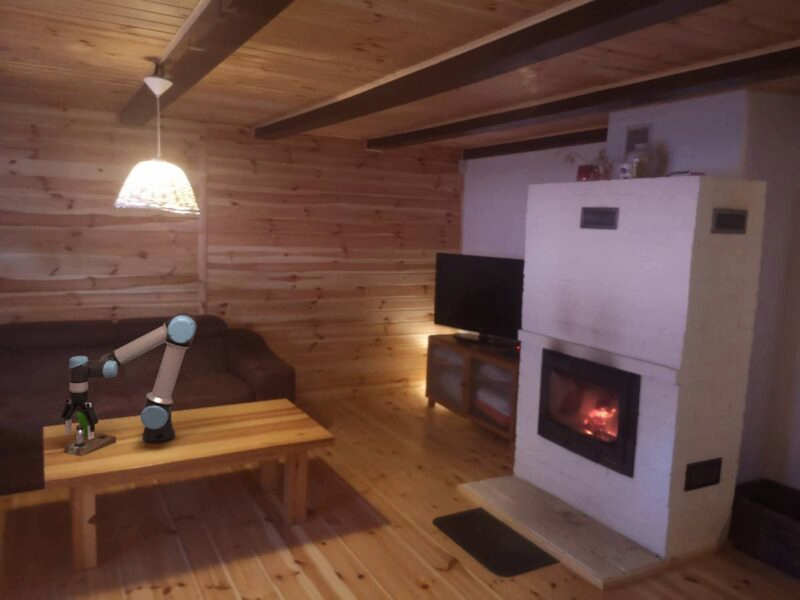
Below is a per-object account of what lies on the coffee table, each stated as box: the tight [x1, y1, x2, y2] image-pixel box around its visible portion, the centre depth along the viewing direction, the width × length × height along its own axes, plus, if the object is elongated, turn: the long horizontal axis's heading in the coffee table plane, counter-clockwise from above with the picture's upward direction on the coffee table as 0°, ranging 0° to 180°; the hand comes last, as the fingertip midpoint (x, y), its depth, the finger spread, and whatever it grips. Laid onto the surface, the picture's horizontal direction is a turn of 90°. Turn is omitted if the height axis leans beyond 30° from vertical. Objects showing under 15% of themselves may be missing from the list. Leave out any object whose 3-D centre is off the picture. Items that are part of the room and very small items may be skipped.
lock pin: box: [75, 424, 85, 447], centre depth 287 cm, size 3×3×12 cm
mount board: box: [63, 432, 117, 457], centre depth 293 cm, size 10×20×3 cm, turn 158°
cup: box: [76, 411, 98, 438], centre depth 308 cm, size 9×9×11 cm
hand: (79, 436), depth 287 cm, fingers open, 13 cm apart
